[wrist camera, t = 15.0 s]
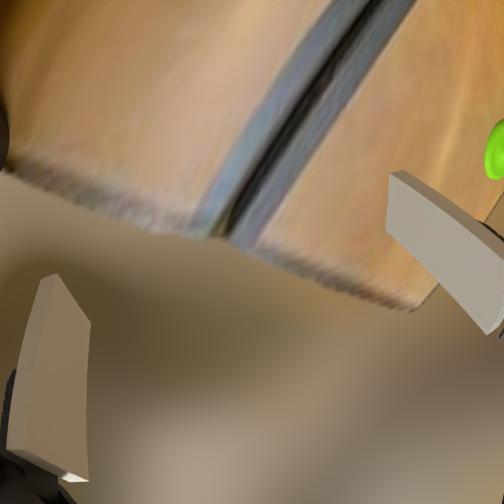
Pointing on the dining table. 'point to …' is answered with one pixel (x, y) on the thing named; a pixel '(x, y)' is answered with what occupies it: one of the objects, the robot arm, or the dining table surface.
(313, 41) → the dining table surface
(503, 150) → the wineglass
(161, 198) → the dining table surface
